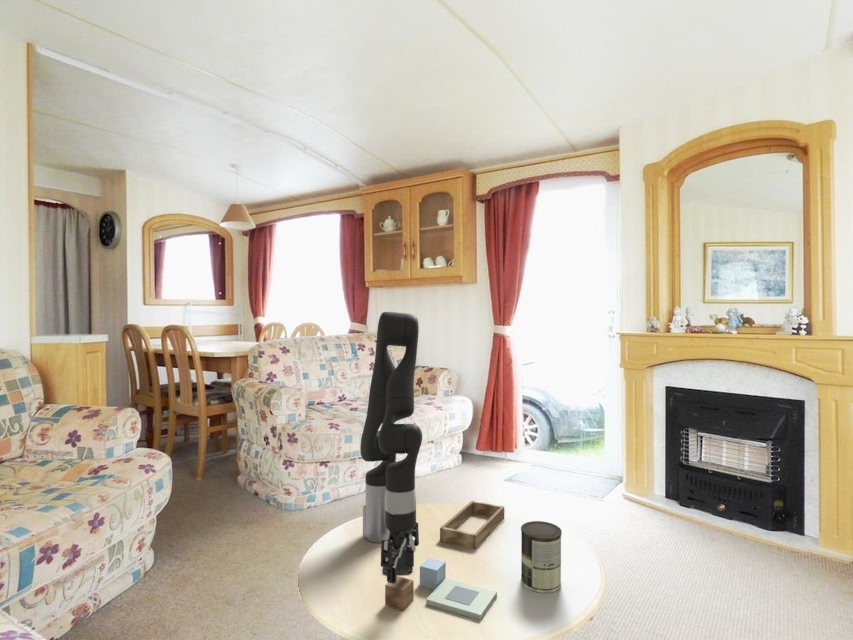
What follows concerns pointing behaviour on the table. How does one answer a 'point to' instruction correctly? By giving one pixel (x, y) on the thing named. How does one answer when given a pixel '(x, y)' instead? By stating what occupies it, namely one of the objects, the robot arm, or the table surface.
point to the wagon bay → (461, 537)
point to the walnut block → (399, 593)
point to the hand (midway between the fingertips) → (400, 574)
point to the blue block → (432, 573)
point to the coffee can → (541, 556)
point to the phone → (400, 565)
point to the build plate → (462, 598)
